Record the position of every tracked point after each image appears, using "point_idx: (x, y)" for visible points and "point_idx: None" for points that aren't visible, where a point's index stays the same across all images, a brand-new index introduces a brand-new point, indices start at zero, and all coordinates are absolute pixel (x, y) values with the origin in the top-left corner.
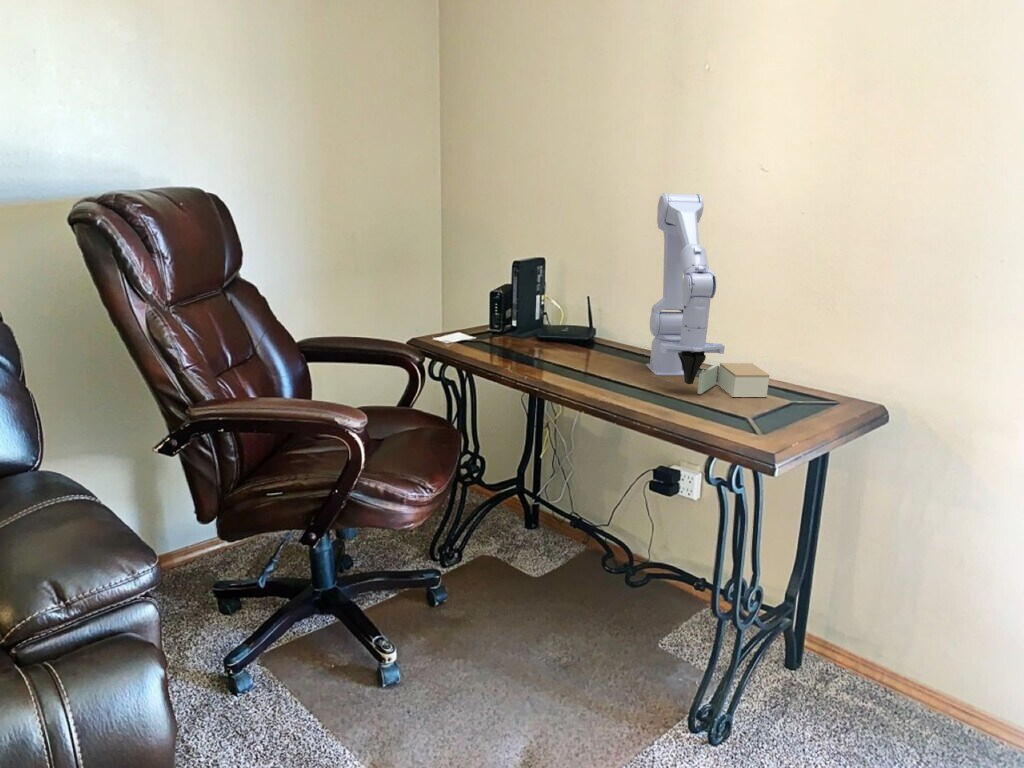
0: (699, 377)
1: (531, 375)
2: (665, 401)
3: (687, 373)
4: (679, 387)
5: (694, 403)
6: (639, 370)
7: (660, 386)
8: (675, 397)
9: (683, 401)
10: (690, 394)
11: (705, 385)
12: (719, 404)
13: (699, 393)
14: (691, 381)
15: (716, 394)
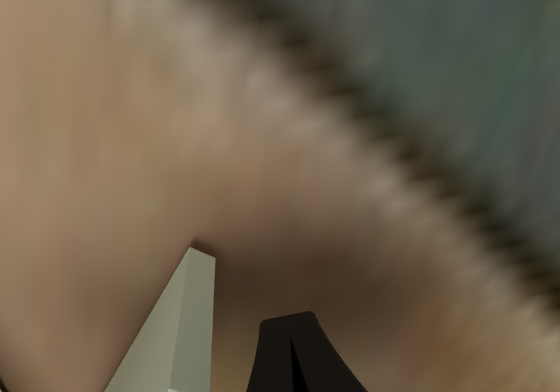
0: (206, 361)
1: None
2: (507, 62)
3: (355, 377)
4: None
5: (264, 47)
6: None
7: (430, 379)
8: (393, 182)
9: (352, 89)
10: (261, 272)
11: (140, 353)
12: (26, 56)
13: (198, 253)
14: (280, 331)
15: (58, 311)
